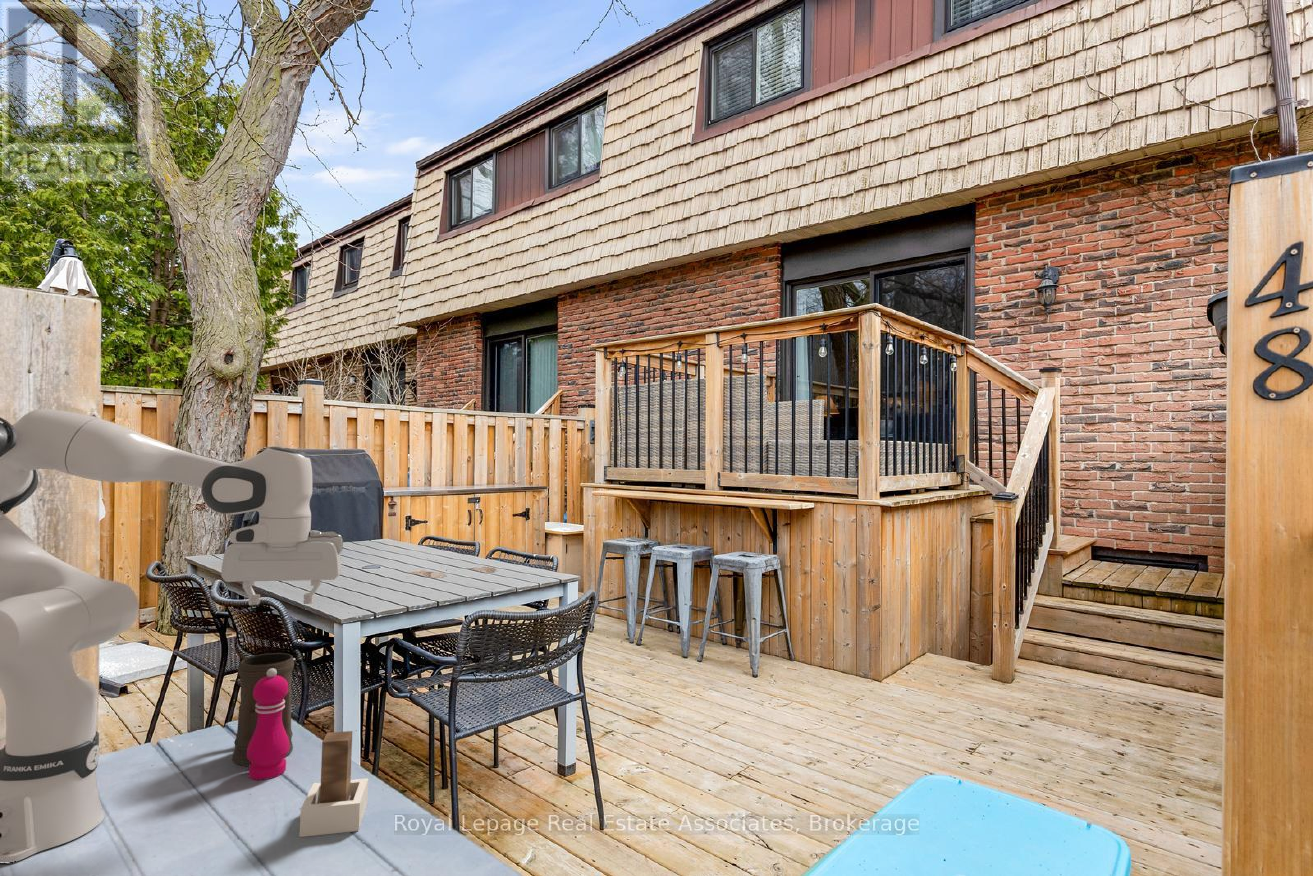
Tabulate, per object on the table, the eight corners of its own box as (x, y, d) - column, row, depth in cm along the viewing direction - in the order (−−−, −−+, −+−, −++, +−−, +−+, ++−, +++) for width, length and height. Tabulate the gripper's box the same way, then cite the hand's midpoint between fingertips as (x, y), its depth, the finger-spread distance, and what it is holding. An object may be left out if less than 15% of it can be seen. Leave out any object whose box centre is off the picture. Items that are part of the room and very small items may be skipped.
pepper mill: (269, 783, 127) (274, 675, 128) (236, 779, 129) (241, 672, 129) (297, 766, 134) (301, 664, 135) (265, 762, 136) (269, 661, 136)
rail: (317, 828, 112) (321, 742, 113) (323, 815, 117) (326, 732, 117) (345, 825, 114) (348, 740, 114) (350, 812, 118) (353, 730, 118)
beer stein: (301, 756, 139) (303, 656, 140) (242, 772, 131) (245, 666, 133) (276, 738, 149) (278, 646, 151) (220, 753, 141) (222, 655, 143)
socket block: (299, 837, 110) (300, 809, 110) (312, 809, 118) (313, 783, 118) (358, 830, 112) (359, 803, 112) (367, 804, 121) (368, 778, 121)
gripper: (346, 529, 136) (343, 599, 136) (231, 529, 131) (228, 601, 130) (340, 533, 130) (337, 606, 130) (219, 533, 125) (216, 609, 124)
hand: (281, 604), depth 130 cm, fingers open, 8 cm apart
